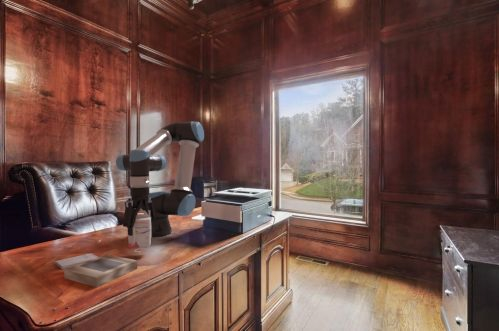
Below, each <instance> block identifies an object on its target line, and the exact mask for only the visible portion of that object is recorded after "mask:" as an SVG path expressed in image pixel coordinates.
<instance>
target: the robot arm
mask: <svg viewBox="0 0 499 331" xmlns="http://www.w3.org/2000/svg"><path fill="white" fill-rule="evenodd" d="M204 139H205V130H204V127H203V125H202V123H200V122H199V121H181V122H180V121H179V122H178V121H177V122H172V123H169V124H167V125H165V126H163V127H162V128H160V129H158V131H156V134H155V135H153V136H151V137H150V138H149V139H148V140H146V141H145V142H143V143H142V144H141V145H139V146H138V147H137V148H135V149H132V150H130V151H129V153H128V154H120V155H118V156H117V158H116V160H115V165H116V168H117V169H118V170H120V171H122V172H123V171H124V172H129V186H130V188H129V193H130V194H129V195H130V197H131V200H130V201H125V202H124V206H125V207H124V216H123V222H122V227H124V228H127V236H128V235H129V243H133V244H134V243H135V227H133V226H134V223H135V220H136V217H137V215H138V214H139V213H138V211H142V210H145V211H146V212H147V214H148V215H149V212H148V210H150V217H151V238H152V237H153V238H154V237H155V238H156V237H163V236H168V235H170V234H172V233H171V232H173V229H172V226H171V223H170V218H169V216H177V217H187V216H190V215H191V214H193V211H194V209H195V207H196V201H197V200H196V196H195V195H194V194H193V192H194V191H193V190H192V189H191V185H192V179H193V172H194V164H195V157H196V151H197V148H198V147H200V143H202V142H203V141H204ZM172 143H178V144H179V146H180V150H179V155H178V162H177V169H176V174H175V180H174V187H172V188H171V189H170V192H169V191H168V190H161V191H153V192H150V186H149V185H150V172H159V171H163V170H164V169H165V168H166V167H167V159H166V157H165V156H163V155H161V154H157V152H159V151H161V149H162V148H163V147H165V146H168V145H170V144H172ZM130 224H131V225H130ZM169 233H170V234H169ZM167 234H168V235H167Z"/></svg>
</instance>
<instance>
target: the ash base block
mask: <svg viewBox="0 0 499 331" xmlns="http://www.w3.org/2000/svg"><path fill="white" fill-rule="evenodd" d="M97 257H98V256H97ZM137 269H138V260H136V259H132V258H128V257H127V258H126V257H121V256H116V255H111V254H104V255H101V256H99V257H98V258H95V259H92V260H90V261H87V262H84V263H81V264H78V265H76V266H73V267H69V268H65V269H63V271H64V272H63V273H64V274H63V277H64V279H65V280H68V281H69V280H70V281H72V282H77V283H81V284H84V285H87V286H91V287H95V288H99V287H101V286H103V285H105V284H108V283H109V282H111V281H114V280H117V279H118V278H120V277H122V276H124V275H126V274H129V273H131V272H133V271H135V270H137Z"/></svg>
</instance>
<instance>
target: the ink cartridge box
mask: <svg viewBox="0 0 499 331" xmlns="http://www.w3.org/2000/svg"><path fill="white" fill-rule="evenodd" d="M148 212H149V215H148V214H147V212H146V211H145V210H142V209H141V210H139V211H138V213H137V217H136V220H135V223H134V226H133V227H135V243H134V244H133V243H129V235H128V234H127V244H128V246H127V248H128V249H133V248H134V249H135V248H136V249H137V248H138V249H139V248H150V247H151V242H152V241H151V240H152V237H151V217H150V210H148ZM130 225H131V224H130Z"/></svg>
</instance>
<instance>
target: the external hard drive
mask: <svg viewBox="0 0 499 331" xmlns="http://www.w3.org/2000/svg"><path fill="white" fill-rule="evenodd" d="M95 258H98V256H97V255H96V254H93V253H91V252H90V253H86V254H80V255H77V256H73V257H68V258H63V259H60V260H55V261H54V262H55V263H54V264H55V265H56V266H58V268H60V269H61V270H64V269H67V268H70V267H73V266H76V265H78V264H81V263H84V262H87V261H90V260H92V259H95Z"/></svg>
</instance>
